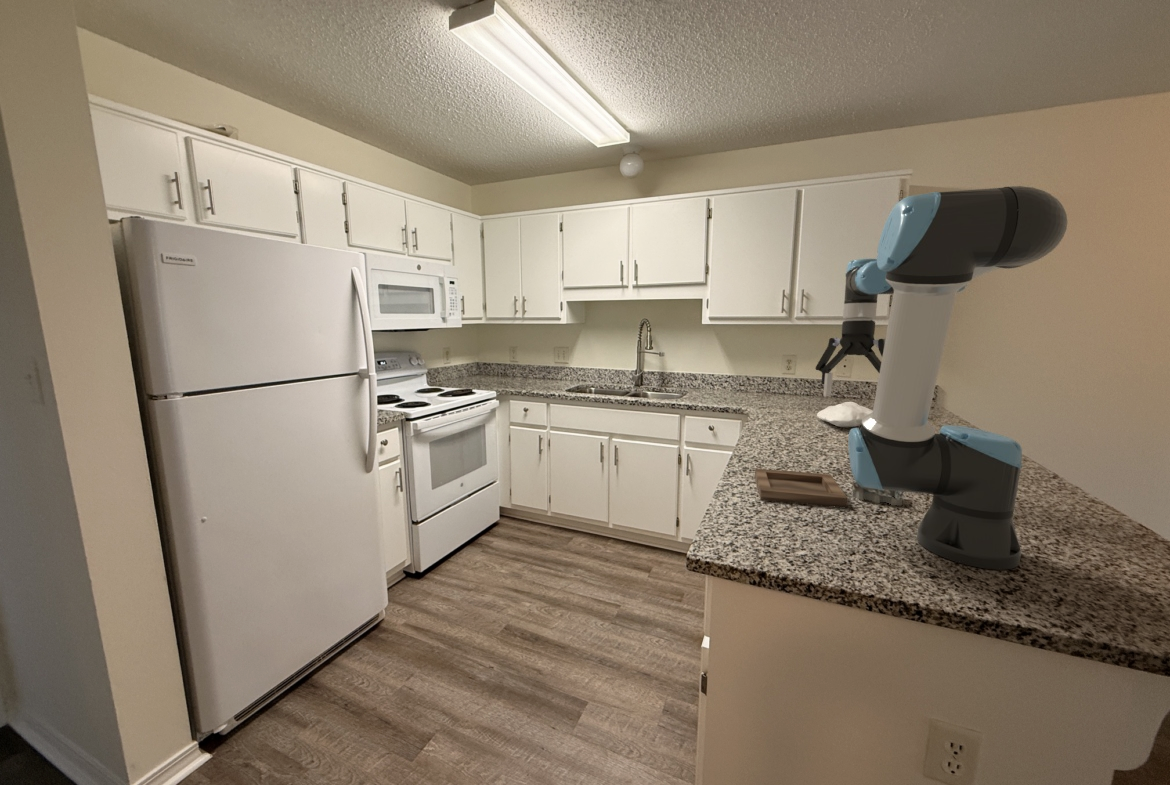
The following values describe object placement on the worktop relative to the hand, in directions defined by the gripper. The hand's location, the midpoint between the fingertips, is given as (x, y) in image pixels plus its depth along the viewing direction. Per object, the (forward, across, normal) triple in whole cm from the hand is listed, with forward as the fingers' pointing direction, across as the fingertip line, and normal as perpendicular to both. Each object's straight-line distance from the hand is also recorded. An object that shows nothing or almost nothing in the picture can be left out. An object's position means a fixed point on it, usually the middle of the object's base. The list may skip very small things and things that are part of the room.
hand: (852, 399), depth 123 cm
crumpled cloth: (+21, +32, -67) cm, 77 cm away
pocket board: (+23, +2, +20) cm, 30 cm away
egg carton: (+23, -11, +8) cm, 27 cm away
